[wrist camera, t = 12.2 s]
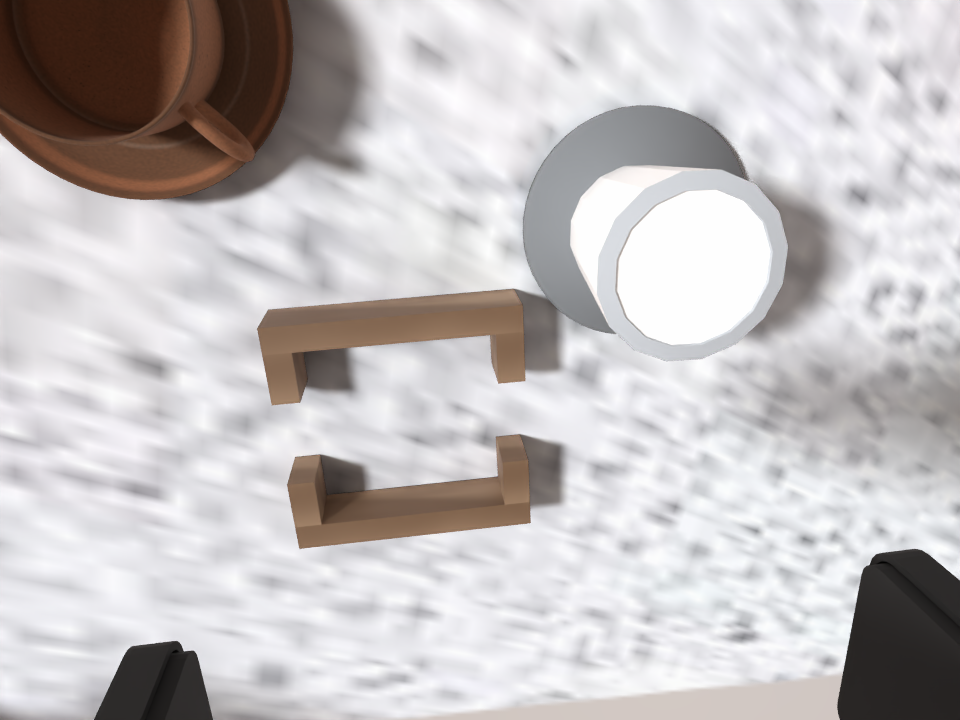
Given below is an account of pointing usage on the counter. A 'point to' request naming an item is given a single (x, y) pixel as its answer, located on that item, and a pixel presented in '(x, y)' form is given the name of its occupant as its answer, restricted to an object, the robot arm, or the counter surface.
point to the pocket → (411, 505)
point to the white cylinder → (679, 257)
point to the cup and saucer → (143, 89)
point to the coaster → (576, 169)
